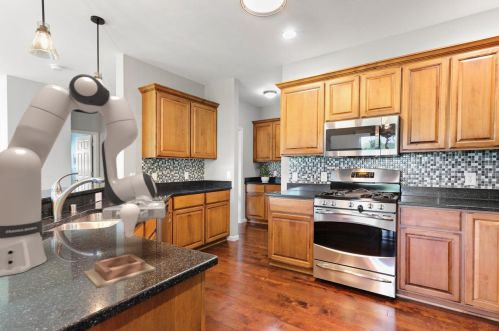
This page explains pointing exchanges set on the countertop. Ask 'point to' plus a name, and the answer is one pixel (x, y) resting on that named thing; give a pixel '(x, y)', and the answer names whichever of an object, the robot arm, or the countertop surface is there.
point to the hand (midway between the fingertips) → (129, 216)
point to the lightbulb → (129, 218)
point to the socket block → (117, 270)
